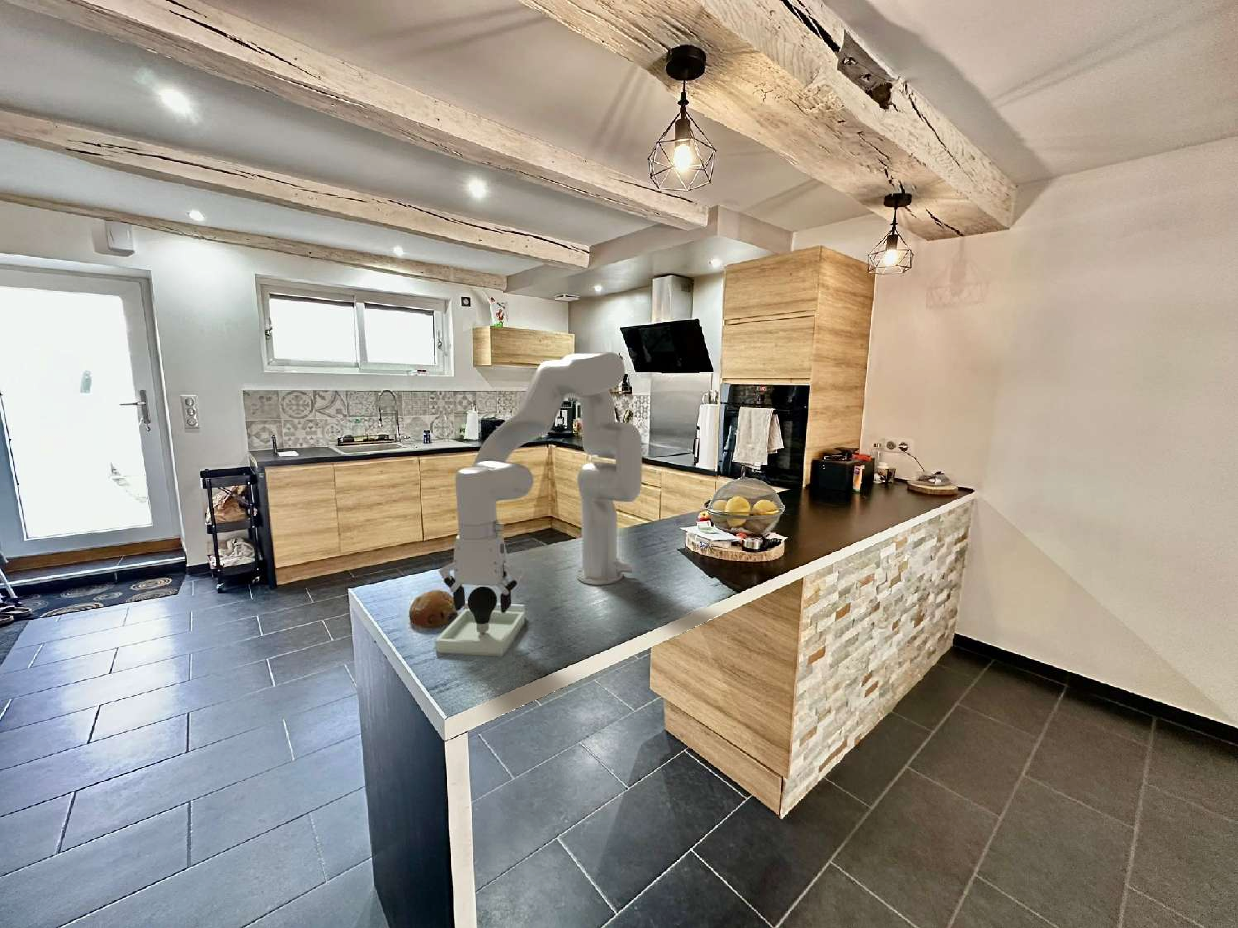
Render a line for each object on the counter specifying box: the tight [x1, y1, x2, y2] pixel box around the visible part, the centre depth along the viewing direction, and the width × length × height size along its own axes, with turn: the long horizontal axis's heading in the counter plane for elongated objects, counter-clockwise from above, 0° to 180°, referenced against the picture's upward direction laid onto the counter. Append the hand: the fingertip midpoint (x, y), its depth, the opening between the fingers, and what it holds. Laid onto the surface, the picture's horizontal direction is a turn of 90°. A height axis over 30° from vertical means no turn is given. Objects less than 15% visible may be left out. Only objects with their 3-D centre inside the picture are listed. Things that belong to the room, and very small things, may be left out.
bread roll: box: [408, 589, 458, 629], centre depth 109 cm, size 10×10×8 cm
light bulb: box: [467, 585, 498, 634], centre depth 100 cm, size 6×6×10 cm
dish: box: [434, 608, 526, 658], centre depth 100 cm, size 14×14×2 cm
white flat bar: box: [462, 600, 526, 618], centre depth 109 cm, size 14×1×3 cm, turn 83°
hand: (482, 608), depth 100 cm, fingers open, 9 cm apart
